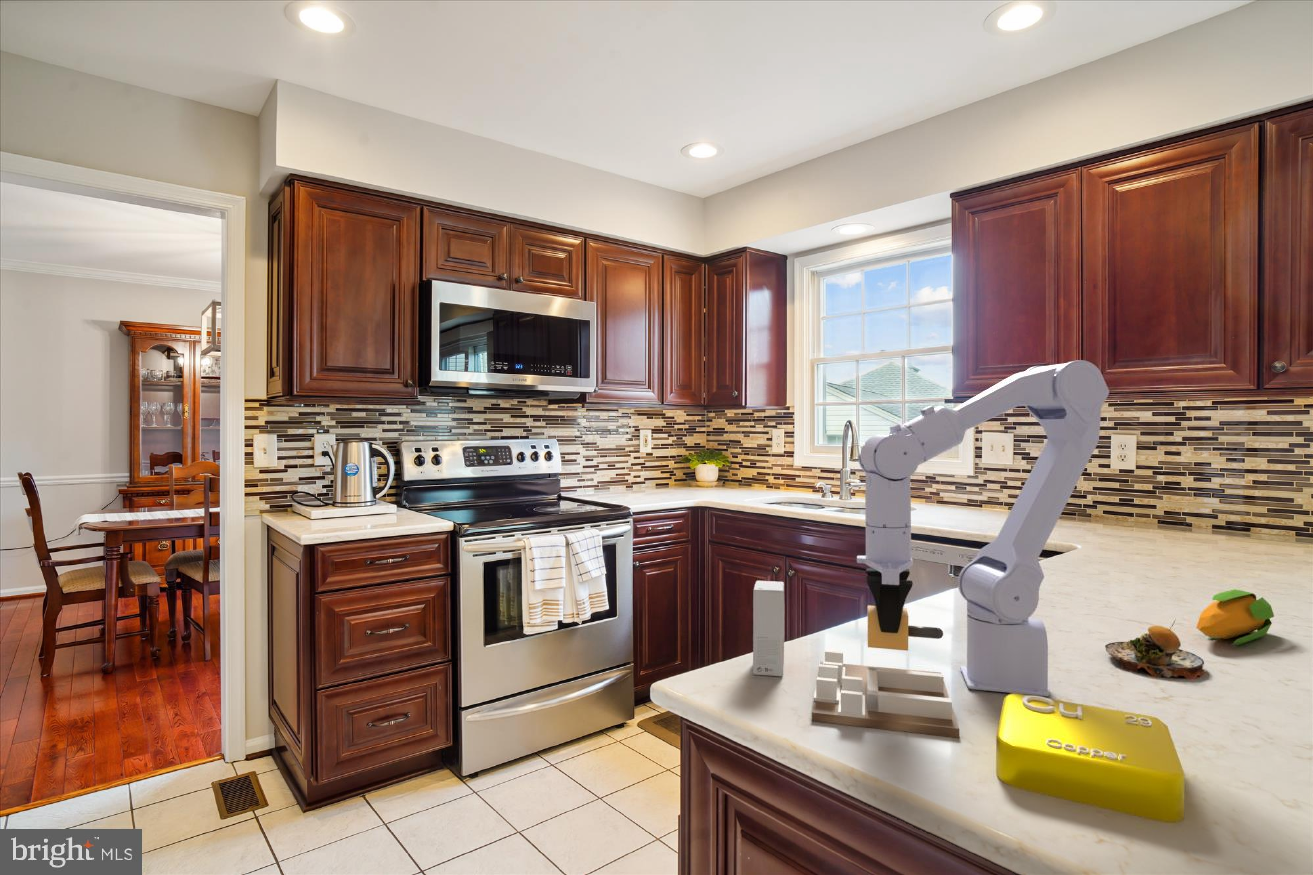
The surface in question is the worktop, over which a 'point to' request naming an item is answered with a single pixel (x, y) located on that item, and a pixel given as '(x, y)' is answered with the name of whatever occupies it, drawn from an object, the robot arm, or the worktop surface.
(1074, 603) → the worktop surface
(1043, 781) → the element tile
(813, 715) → the board
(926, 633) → the block
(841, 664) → the clip
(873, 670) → the frame
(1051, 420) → the robot arm
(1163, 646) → the burger
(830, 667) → the clip
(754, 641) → the skincare box
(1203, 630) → the corn
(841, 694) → the clip
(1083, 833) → the worktop surface
